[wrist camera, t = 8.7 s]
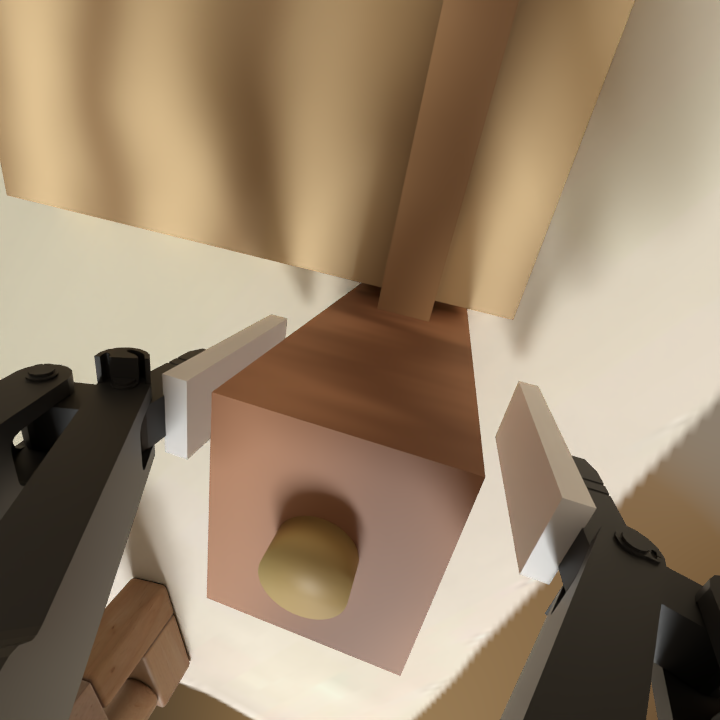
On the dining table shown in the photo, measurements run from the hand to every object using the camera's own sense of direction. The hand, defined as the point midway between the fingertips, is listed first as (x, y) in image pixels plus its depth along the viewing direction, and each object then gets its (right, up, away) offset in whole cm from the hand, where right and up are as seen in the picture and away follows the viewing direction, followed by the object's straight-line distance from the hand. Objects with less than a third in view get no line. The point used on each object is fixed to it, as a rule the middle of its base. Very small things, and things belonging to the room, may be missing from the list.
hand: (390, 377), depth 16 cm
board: (-5, +12, 0) cm, 13 cm away
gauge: (+2, +6, +1) cm, 6 cm away
